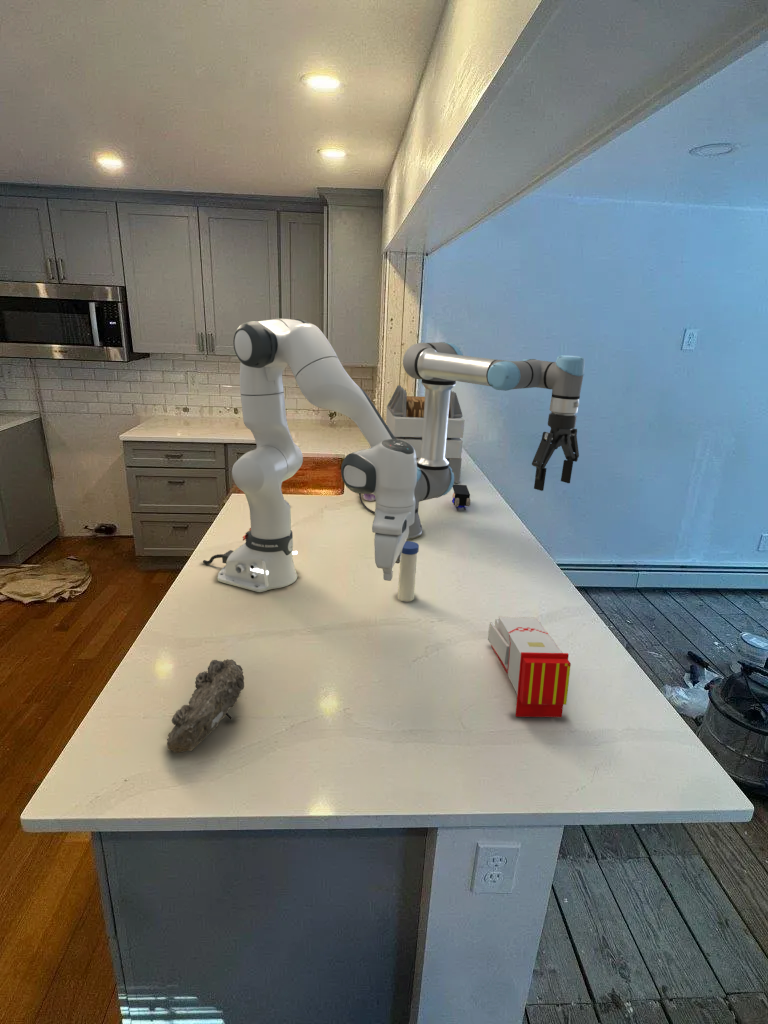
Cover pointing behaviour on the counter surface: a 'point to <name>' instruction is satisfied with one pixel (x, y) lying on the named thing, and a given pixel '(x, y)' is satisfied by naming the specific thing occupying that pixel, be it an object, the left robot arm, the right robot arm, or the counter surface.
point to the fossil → (206, 705)
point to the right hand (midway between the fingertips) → (552, 485)
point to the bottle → (407, 577)
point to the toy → (531, 665)
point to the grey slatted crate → (408, 425)
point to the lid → (410, 548)
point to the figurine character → (461, 496)
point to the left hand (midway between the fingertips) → (392, 570)
